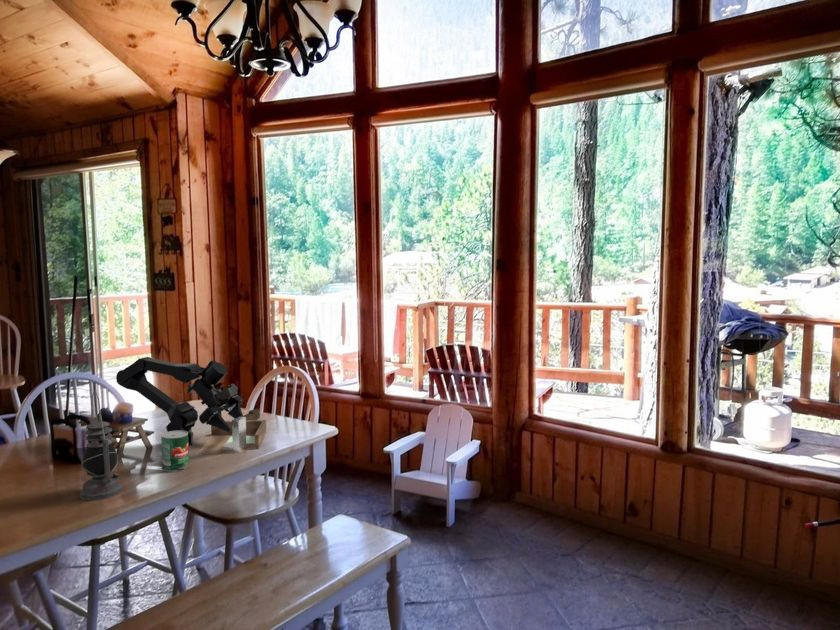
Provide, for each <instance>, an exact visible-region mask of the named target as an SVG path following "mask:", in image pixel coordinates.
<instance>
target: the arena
mask: <svg viewBox="0 0 840 630" xmlns="http://www.w3.org/2000/svg"><path fill="white" fill-rule="evenodd" d="M225 422H226V423H227V424H228V426H229V427H230V429H231V431H230V432H227V431H225V430H222V429H220V428H217V427H215V426H212V425H210V429H211V430H210V433H211V435H210V437H208V438H207V440H206V441H205V442H204V444H203V445H202V446H201V448H200V449H199V451H198V452H197V453H196V455H207V454H208V455H210V454H215V455H216V454H217V455H218V454H246V453H247V451H248V450H260V447H261V445H262V444H263V441H264V439H265V437H266V435H267V420H266V419H258V420H246V436H255V444H246V449H244V450H242V451H241V452H231V451H222V446H223V445H225V444H226V443H227V441H228V440H229V438H230V437H232V420H225Z"/></svg>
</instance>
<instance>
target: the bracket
mask: <svg viewBox="0 0 840 630" xmlns="http://www.w3.org/2000/svg"><path fill="white" fill-rule="evenodd" d="M231 421H232V439H233V442H228V443H227V444H225V445H223V446H222V451H231V452H241V451H242V450H244V449H246V417H237V418H233V419H232V420H231Z"/></svg>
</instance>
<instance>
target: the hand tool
mask: <svg viewBox="0 0 840 630" xmlns="http://www.w3.org/2000/svg"><path fill="white" fill-rule="evenodd" d="M243 416H244V417H246V420H260V418H261V411H260V409H259V408H253V409H251V410H249V411H248V413H247V414H243Z"/></svg>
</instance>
